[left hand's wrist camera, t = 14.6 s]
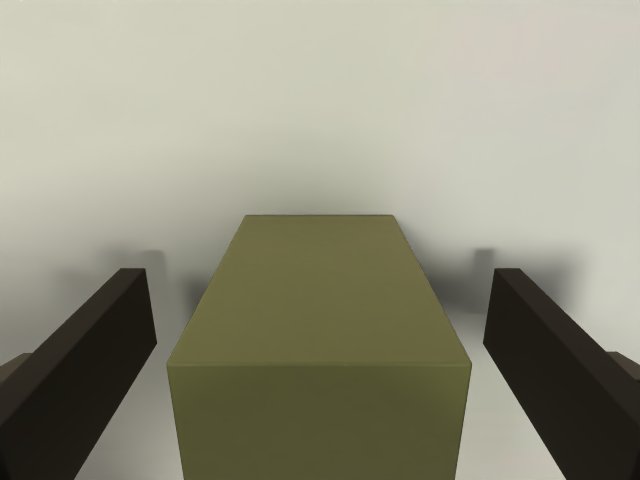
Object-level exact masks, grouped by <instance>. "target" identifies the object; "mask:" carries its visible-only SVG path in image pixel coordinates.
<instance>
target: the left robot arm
mask: <svg viewBox="0 0 640 480" xmlns="http://www.w3.org/2000/svg"><path fill="white" fill-rule="evenodd" d="M156 344H157V340H156V333H155V327H154V321H153V314H152V308H151V302H150V295H149V289H148V283H147V277H146V270H145V268H121V269H120V270H119V271H117V272H116V273H115V274H114V275H113V276H112V277H111V278H110V279H109V280H108V281H107V282H106V283H105V284H104V285H103V286H102V287H101V288H100V289H99V290H98V291H97V292H96V293H95V294H94V295H93V296H91V297H90V298H89V299H88V300H87V301H86V302H85V303H84V304H83V305H82V306H81V307H80V308H79V309H78V310H77V311H76V312H75V313H74V314H73V315H72V316H71V317H70V318H69V319H68V320H66V321H65V322H64V323H63V324H62V325H61V326H60V327H59V328H58V329H57V330H56V331H55V332H54V333H53V334H52V335H51V336H50V337H49V338H48V339H47V340H46V341H45V342H44V343H43V344H42V345H40V346H39V347H38V348H37V349H36V350H35V351H34V352H33V353H23V354H21V355H20V356H18V357H16V358H14V359H13V360H11V361H9V362H7V363H6V364H4V365H2V366H1V367H0V480H74V478H75V477H76V475H77V474H78V472H79V470H80V469H81V467H82V465H83V464H84V462H85V460H86V459H87V457H88V456H89V454H90V452H91V451H92V449H93V447H94V446H95V444H96V442H97V441H98V439H99V438H100V436H101V434H102V433H103V431H104V429H105V428H106V426H107V424H108V423H109V421H110V420H111V418H112V416H113V415H114V413H115V411H116V410H117V408H118V406H119V405H120V403H121V402H122V400H123V398H124V397H125V395H126V393H127V392H128V390H129V388H130V387H131V385H132V384H133V382H134V380H135V379H136V377H137V375H138V374H139V372H140V370H141V369H142V367H143V366H144V364H145V362H146V361H147V359H148V357H149V356H150V354H151V352H152V351H153V349H154V348H155V346H156ZM483 344H484V346H485V348H486V349H487V351H488V352H489V354H490V356H491V357H492V359H493V361H494V362H495V364H496V366H497V367H498V369H499V370H500V372H501V374H502V375H503V377H504V379H505V380H506V382H507V384H508V385H509V387H510V388H511V390H512V392H513V393H514V395H515V397H516V398H517V400H518V402H519V403H520V405H521V406H522V408H523V410H524V411H525V413H526V415H527V416H528V418H529V420H530V421H531V423H532V424H533V426H534V428H535V429H536V431H537V433H538V434H539V436H540V438H541V439H542V441H543V442H544V444H545V446H546V447H547V449H548V451H549V452H550V454H551V456H552V457H553V459H554V460H555V462H556V464H557V465H558V467H559V469H560V470H561V472H562V474H563V475H564V477H565V478H566V480H640V365H639V364H637V363H636V362H634V361H632V360H630V359H629V358H627V357H625V356H623V355H622V354H620V353H618V352H606V351H605V350H604V349H603V348H602V347H601V346H600V345H598V344H597V343H596V342H595V341H594V340H593V339H592V338H591V337H590V336H589V335H588V334H587V333H586V332H585V331H584V330H583V329H582V328H581V327H580V326H579V325H578V324H577V323H576V322H575V321H573V320H572V319H571V318H570V317H569V316H568V315H567V314H566V313H565V312H564V311H563V310H562V309H561V308H560V307H559V306H558V305H557V304H556V303H555V302H554V301H553V300H552V299H551V298H550V297H549V296H547V295H546V294H545V293H544V292H543V291H542V290H541V289H540V288H539V287H538V286H537V285H536V284H535V283H534V282H533V281H532V280H531V279H530V278H529V277H528V276H527V275H526V274H525V273H524V272H523V271H521V270H520V269H519V268H495V270H494V277H493V283H492V289H491V295H490V302H489V308H488V314H487V321H486V327H485V333H484V339H483Z"/></svg>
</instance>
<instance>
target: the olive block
mask: <svg viewBox="0 0 640 480" xmlns="http://www.w3.org/2000/svg"><path fill="white" fill-rule="evenodd" d="M166 365H167V372H168V378H169V385H170V391H171V398H172V404H173V411H174V417H175V424H176V430H177V437H178V444H179V450H180V457H181V463H182V470H183V476H184V480H455V474H456V468H457V461H458V454H459V448H460V441H461V434H462V428H463V421H464V415H465V408H466V401H467V395H468V388H469V382H470V375H471V368H472V363H471V360H470V359H469V357H468V355H467V353H466V351H465V349H464V347H463V345H462V344H461V342H460V340H459V338H458V336H457V334H456V332H455V330H454V329H453V327H452V325H451V323H450V321H449V319H448V317H447V315H446V314H445V312H444V310H443V308H442V306H441V304H440V302H439V300H438V299H437V297H436V295H435V293H434V291H433V289H432V287H431V285H430V284H429V282H428V280H427V278H426V276H425V274H424V272H423V270H422V269H421V267H420V265H419V263H418V261H417V259H416V257H415V255H414V253H413V252H412V250H411V248H410V246H409V244H408V242H407V240H406V238H405V237H404V235H403V233H402V231H401V229H400V227H399V225H398V223H397V222H396V220H395V218H394V216H392V215H247V216H245V217H244V219H243V221H242V223H241V225H240V227H239V229H238V231H237V232H236V234H235V236H234V238H233V240H232V242H231V244H230V246H229V247H228V249H227V251H226V253H225V255H224V257H223V259H222V261H221V262H220V264H219V266H218V268H217V270H216V272H215V274H214V276H213V277H212V279H211V281H210V283H209V285H208V287H207V289H206V291H205V292H204V294H203V296H202V298H201V300H200V302H199V304H198V306H197V307H196V309H195V311H194V313H193V315H192V317H191V319H190V321H189V322H188V324H187V326H186V328H185V330H184V332H183V334H182V336H181V337H180V339H179V341H178V343H177V345H176V347H175V349H174V350H173V352H172V354H171V356H170V358H169V360H168V362H167V364H166Z"/></svg>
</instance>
